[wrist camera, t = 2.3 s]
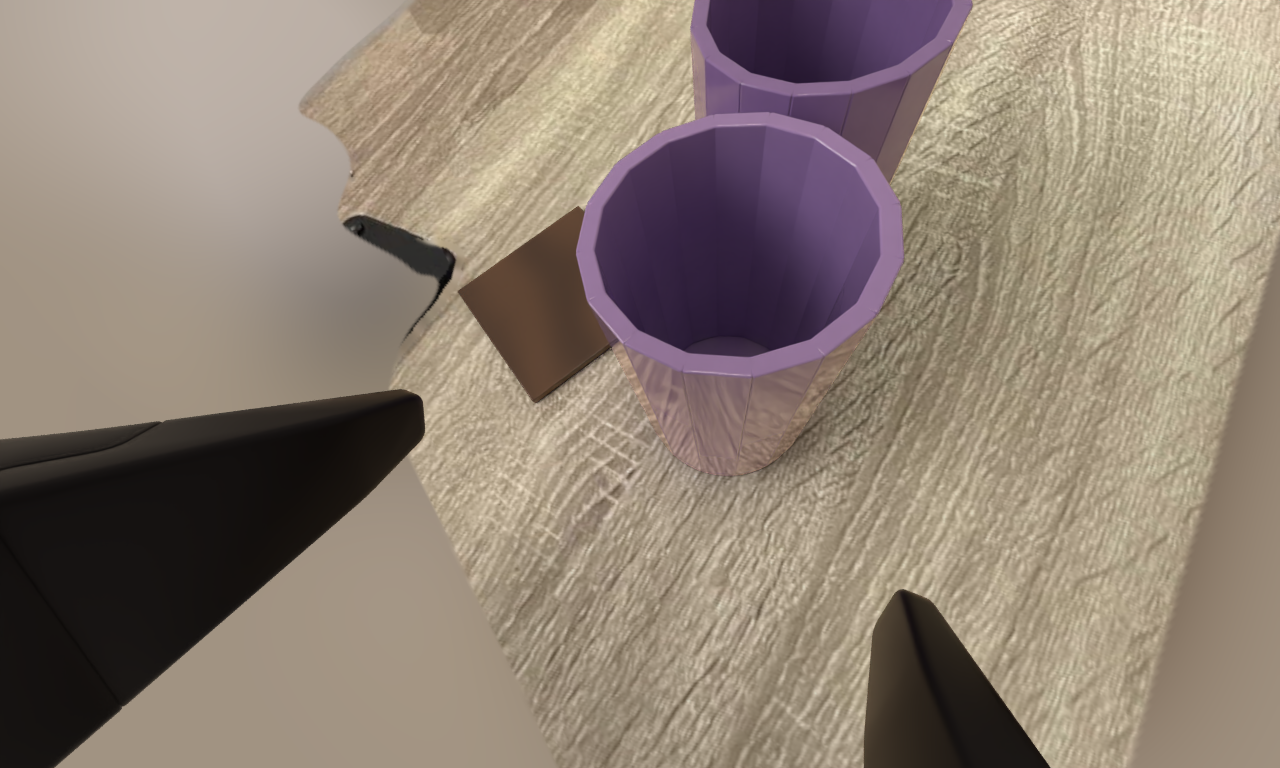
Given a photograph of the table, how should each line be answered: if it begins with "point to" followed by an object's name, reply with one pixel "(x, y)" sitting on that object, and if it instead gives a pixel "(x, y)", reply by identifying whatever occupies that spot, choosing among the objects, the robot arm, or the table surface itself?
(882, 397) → the table surface
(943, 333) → the table surface
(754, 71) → the tumbler
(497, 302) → the coaster
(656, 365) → the tumbler
